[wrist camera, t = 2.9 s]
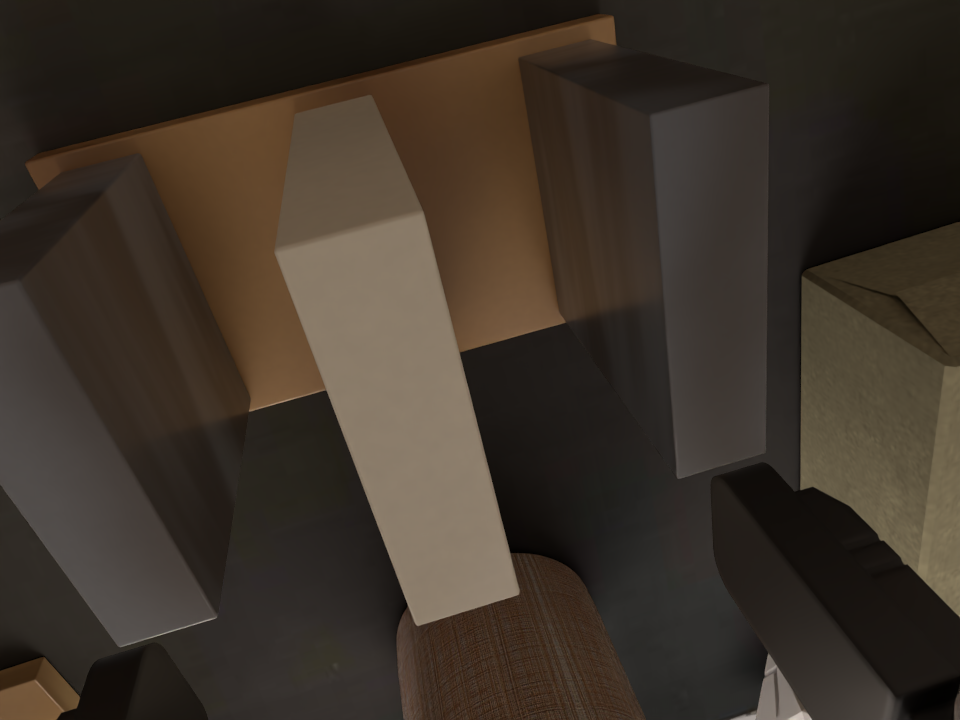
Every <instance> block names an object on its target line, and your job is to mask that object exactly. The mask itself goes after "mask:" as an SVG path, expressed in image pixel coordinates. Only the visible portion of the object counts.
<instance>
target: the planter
mask: <svg viewBox="0 0 960 720" xmlns="http://www.w3.org/2000/svg"><path fill="white" fill-rule="evenodd" d="M510 554H511V558H512V562H513V566H514V570H515V574H516V578H517V582H518V586H519V590H520V592H519V594H518V595H517V596H513V597H510V598H507V599H504V600H501V601H497V602H494V603H491V604H488V605H484V606H481V607H478V608H475V609H471V610H468V611H465V612H462V613H458V614H455V615H452V616H449V617H446V618H442V619H439V620H436V621H433V622H429V623H426V624H423V625H420V626H417V625H416V624H415V622H414V620H413V617H412V615H411V612H410V609H409V607H407V608H406V610H405V612H404V614H403V616H402V618H401V620H400V623H399V626H398V631H397V637H396V644H397V664H398V674H399V683H400V691H401V700H402V708H403V717H404V720H646V719H645V716H644V714H643V712H642V710H641V707H640V705H639V703H638V701H637V698H636V696H635V694H634V691H633V689H632V687H631V685H630V682H629V680H628V678H627V676H626V673H625V671H624V669H623V667H622V664H621V662H620V660H619V657H618V655H617V653H616V651H615V648H614V646H613V644H612V642H611V639H610V637H609V635H608V632H607V630H606V628H605V626H604V623H603V621H602V619H601V617H600V614H599V612H598V610H597V608H596V605H595V604H594V602H593V600H592V598H591V596H590V594H589V592H588V590H587V588H586V586H585V585H584V583H583V581H582V580H581V578H580V577H579V576H578V575H577V574H576V573H575V572H574V571H573V570H571V569H570V568H569V567H567V566H566V565H564V564H562V563H560V562H558V561H556V560H553V559H551V558H547V557H544V556H540V555H535V554H526V553H510Z"/></svg>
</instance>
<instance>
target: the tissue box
mask: <svg viewBox="0 0 960 720" xmlns="http://www.w3.org/2000/svg"><path fill="white" fill-rule="evenodd" d="M810 487H815V488H817V489H818V490H820V491H822V492H824V493H826V494H828V495H830V496H832V497H833V498H835V499H837V500H839V501H841V502H843V503H845V504H847V505H849V506H850V507H851V508H852V509H853V510H854V511H855V512H856V513H857V514H858V515H859V516H860V517H861V518H862V519H863V520H864V521H865V522H866V523H867V524H868V525H869V526H870V527H871V528H872V529H873V530H874V531H875V532H876V533H877V534H878V537H879V539H880V540H881V541H882V540H884V541H885V542H886V543H887V544H888V545H889V546H890V547H891V548H892V549H893V550H894V551H895V552H896V553H897V554H898V555H899V556H900V557H901V560H902V562H903V564H904V565H906V564H908V565H909V566H910V567H911V568H912V569H913V570H914V571H915V572H916V573H917V574H918V575H919V576H920V577H921V578H922V579H923V581H924V582H925V583H926V584H927V585H928V586H929V587H930V588H931V589H932V590H933V591H934V592H935V593H936V594H937V595H938V596H939V597H940V598H941V599H942V600H943V601H944V602H945V603H946V604H947V605H948V606H949V607H950V608H951V609H952V610H953V611H954V612H955V613H956V614H957V615H958V616H959V617H960V222H957V223H953V224H950V225H947V226H944V227H941V228H937V229H934V230H931V231H928V232H925V233H921V234H918V235H915V236H912V237H909V238H905V239H902V240H899V241H896V242H893V243H889V244H886V245H883V246H880V247H877V248H873V249H870V250H867V251H864V252H861V253H857V254H854V255H851V256H848V257H845V258H841V259H838V260H835V261H832V262H829V263H825V264H822V265H819V266H816V267H813V268H809V269H806V270H805V271H804V272H803V274H802V311H801V480H800V490H803V489H806V488H810Z"/></svg>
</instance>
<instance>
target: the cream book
mask: <svg viewBox="0 0 960 720" xmlns="http://www.w3.org/2000/svg"><path fill="white" fill-rule="evenodd" d="M274 253H275V256H276V258H277V261H278V264H279V266H280V269H281V271H282V274H283V277H284V279H285V282H286V285H287V287H288V290H289V293H290V295H291V298H292V301H293V303H294V306H295V308H296V311H297V314H298V316H299V319H300V322H301V324H302V327H303V330H304V332H305V335H306V337H307V340H308V343H309V345H310V348H311V351H312V353H313V356H314V359H315V361H316V364H317V366H318V369H319V372H320V374H321V377H322V380H323V382H324V385H325V388H326V390H327V393H328V396H329V398H330V401H331V403H332V406H333V409H334V411H335V414H336V417H337V419H338V422H339V425H340V427H341V430H342V432H343V435H344V438H345V440H346V443H347V446H348V448H349V451H350V454H351V456H352V459H353V461H354V464H355V467H356V469H357V472H358V475H359V477H360V480H361V483H362V485H363V488H364V491H365V493H366V496H367V498H368V501H369V504H370V506H371V509H372V512H373V514H374V517H375V520H376V522H377V525H378V527H379V530H380V533H381V535H382V538H383V541H384V543H385V546H386V549H387V551H388V554H389V557H390V559H391V562H392V564H393V567H394V570H395V572H396V575H397V578H398V580H399V583H400V586H401V588H402V591H403V593H404V596H405V599H406V601H407V604H408V607H409V609H410V612H411V615H412V617H413V620H414V622H415V624H416V625H417V626H420V625H423V624H426V623H429V622H433V621H436V620H439V619H442V618H446V617H449V616H452V615H455V614H458V613H462V612H465V611H468V610H471V609H475V608H478V607H481V606H484V605H488V604H491V603H494V602H497V601H501V600H504V599H507V598H510V597H513V596H517V595H518V594H519V592H520V590H519V586H518V582H517V578H516V574H515V570H514V566H513V562H512V558H511V554H510V550H509V546H508V543H507V539H506V535H505V531H504V527H503V523H502V519H501V515H500V511H499V507H498V503H497V499H496V495H495V491H494V487H493V483H492V479H491V475H490V471H489V467H488V464H487V460H486V456H485V452H484V448H483V444H482V440H481V436H480V432H479V428H478V424H477V420H476V416H475V412H474V408H473V404H472V400H471V396H470V392H469V388H468V384H467V381H466V377H465V373H464V369H463V365H462V361H461V357H460V353H459V349H458V345H457V341H456V337H455V333H454V329H453V325H452V321H451V317H450V313H449V309H448V305H447V302H446V298H445V294H444V290H443V286H442V282H441V278H440V274H439V270H438V266H437V262H436V258H435V254H434V250H433V246H432V242H431V238H430V234H429V230H428V226H427V223H426V219H425V215H424V212H423V209H422V207H421V205H420V203H419V200H418V198H417V196H416V194H415V191H414V189H413V187H412V185H411V182H410V180H409V178H408V176H407V173H406V171H405V169H404V167H403V164H402V162H401V160H400V158H399V155H398V153H397V151H396V149H395V146H394V144H393V142H392V140H391V137H390V135H389V133H388V131H387V128H386V126H385V124H384V122H383V119H382V117H381V115H380V112H379V110H378V108H377V106H376V103H375V101H374V99H373V97H372V95H367V96H363V97H359V98H355V99H351V100H347V101H343V102H339V103H335V104H331V105H327V106H323V107H319V108H315V109H311V110H307V111H304V112H300V113H296V114H295V116H294V123H293V130H292V136H291V143H290V150H289V156H288V163H287V170H286V176H285V183H284V190H283V197H282V203H281V210H280V217H279V223H278V230H277V237H276V243H275V251H274Z"/></svg>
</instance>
